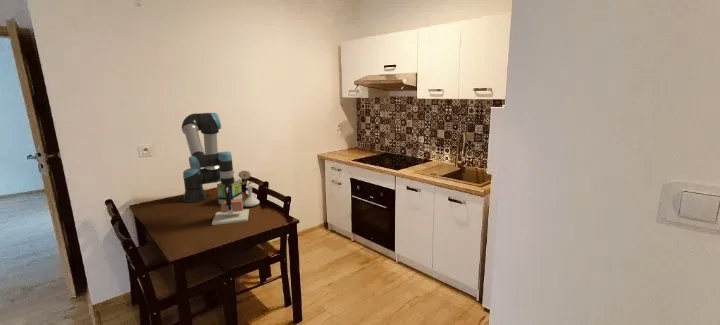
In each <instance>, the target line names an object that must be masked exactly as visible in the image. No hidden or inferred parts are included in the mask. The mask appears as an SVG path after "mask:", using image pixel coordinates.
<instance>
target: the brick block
mask: <svg viewBox="0 0 720 325" xmlns="http://www.w3.org/2000/svg"><path fill="white" fill-rule="evenodd" d="M243 202H244V201H243V198H241V199H234V200H231V204H232V211H233V212H237V211H242V210H244V205H243ZM220 209H221V211H220V212H222V213H227V212H228V210H227V205H226V200H224V201H222V202H221V204H220Z"/></svg>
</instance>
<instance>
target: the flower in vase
mask: <svg viewBox="0 0 720 325" xmlns="http://www.w3.org/2000/svg"><path fill="white" fill-rule="evenodd" d="M238 177H239V179H241V180H242V179H243V180H247V179H250V178H251V172H250V171H249V170H241V171H240V172H239V173H238ZM253 182H254V181H253V180H252V181H250V182H248V183H247V182H246V181H241V183H240V184H241V185H243V186H244V185H246V186H245V188H246V189H247V193H248V197H246V199H245V200H243V201H242V202H243V207H246V208H248V207H249V208H251V207H255V206H257V205H259V204H260V200H259V199H258V198H256V197H254V196H253V187H254V185H252V183H253Z"/></svg>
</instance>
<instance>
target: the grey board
mask: <svg viewBox="0 0 720 325" xmlns="http://www.w3.org/2000/svg"><path fill="white" fill-rule="evenodd" d="M249 214H250V209H249V208H248V209H247V208H246V209H244V208H243V210H242V211H237V212H233V215H228V212H227V213H222V211H217V212H215V215H214V217H213V220H212V221H211V222H212V223H211V225H212V226H218V225H227V224H228V225H229V224H237V223H244V222H248V220H249Z"/></svg>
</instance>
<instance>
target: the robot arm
mask: <svg viewBox="0 0 720 325" xmlns="http://www.w3.org/2000/svg"><path fill="white" fill-rule="evenodd" d="M221 129H222V124H221V119H220V116H219V114H218V113H217V112H201V113H191V114H188V115H187V116H186V117H185V118H184V119H183V120H182V123H181V131H182V133H183V134H184V136H185V138H186V139H185V140H186V143H187V146H188V149H189V152H190V156H189V157H188V163H189V167H190V168H187V169H185V170H183V172H182V178H183V183H184V195H183V202H184V203H198V202H203V201H205V200H206V199H207V198H208V197H207V194H206V192H205V190H204V186H203V185H208V184H216V183H217V184H218V183H221V184H223V185H226V186H225V195H226V205H227V210H228V215H233V211H232V204H231V200H234V199H233V194H232V184H233V183H234V179H235V176H234V173H235V171H234V168H233V156H232V153H231V152H230V151H219V149H218V148H219V147H218V133H220V131H219V130H221ZM199 131H200V133H201V134H202V135H203V144H202V142H201V139H200V138H201V137H200V135H199ZM203 146H204V147H203Z"/></svg>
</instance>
